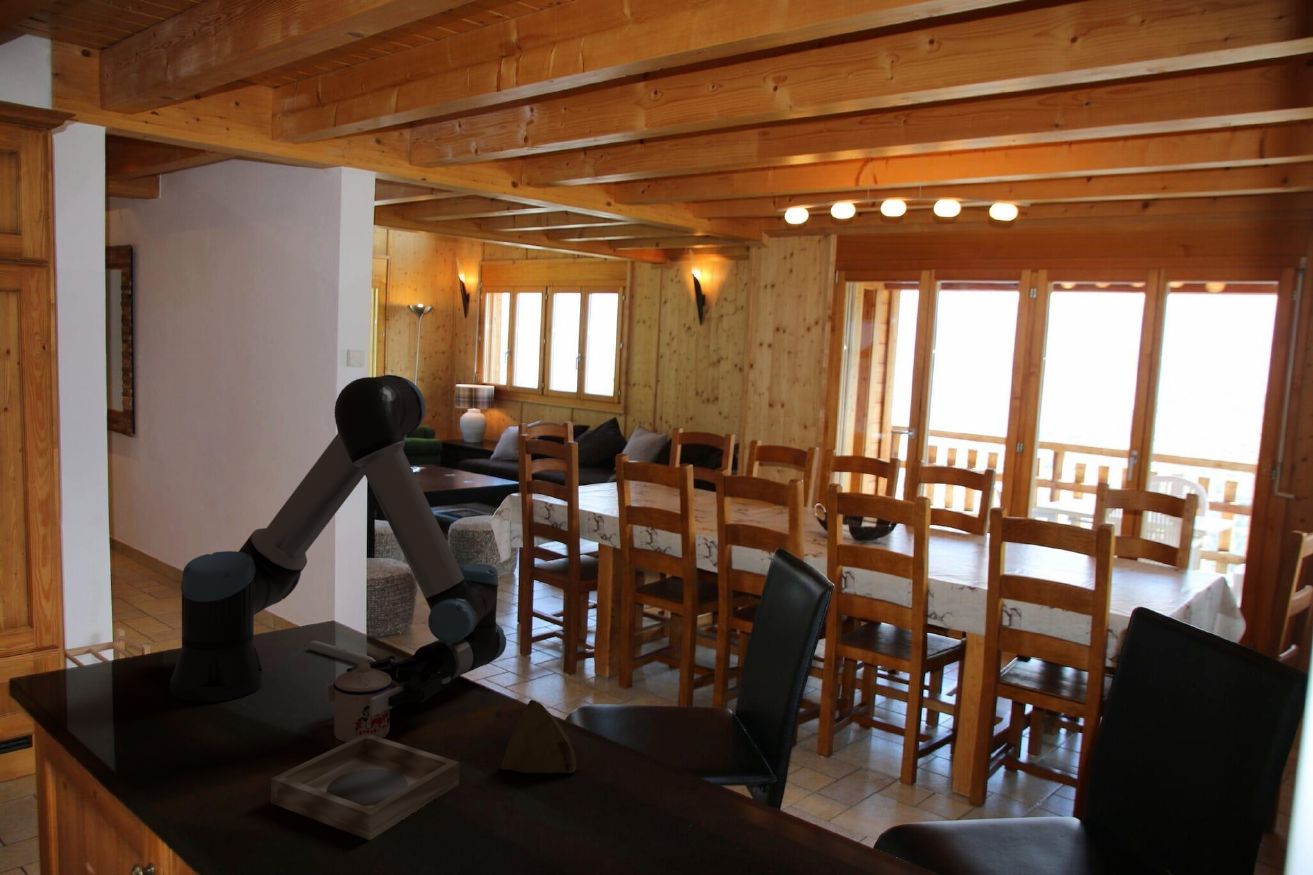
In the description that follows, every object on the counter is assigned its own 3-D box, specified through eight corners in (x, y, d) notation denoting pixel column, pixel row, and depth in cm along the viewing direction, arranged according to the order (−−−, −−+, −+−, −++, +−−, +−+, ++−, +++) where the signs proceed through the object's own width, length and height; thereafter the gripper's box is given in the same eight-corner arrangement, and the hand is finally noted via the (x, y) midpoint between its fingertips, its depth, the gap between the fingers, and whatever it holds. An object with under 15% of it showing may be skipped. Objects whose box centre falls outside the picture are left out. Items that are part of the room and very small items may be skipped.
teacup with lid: (358, 750, 146) (360, 678, 145) (320, 734, 151) (321, 664, 150) (416, 726, 156) (418, 658, 155) (378, 712, 161) (380, 646, 160)
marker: (381, 668, 183) (381, 656, 183) (372, 671, 181) (373, 659, 181) (316, 649, 192) (317, 637, 191) (308, 651, 190) (308, 640, 190)
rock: (595, 751, 146) (549, 724, 151) (580, 720, 140) (533, 693, 146) (551, 809, 140) (505, 778, 146) (533, 779, 135) (486, 749, 140)
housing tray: (270, 802, 129) (271, 778, 128) (365, 754, 145) (366, 733, 144) (369, 840, 121) (370, 814, 120) (458, 785, 137) (459, 762, 137)
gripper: (489, 694, 165) (400, 739, 145) (395, 669, 174) (299, 708, 154) (491, 653, 164) (401, 692, 144) (396, 629, 174) (300, 663, 153)
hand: (348, 700), depth 149 cm, fingers closed on teacup with lid, 9 cm apart
